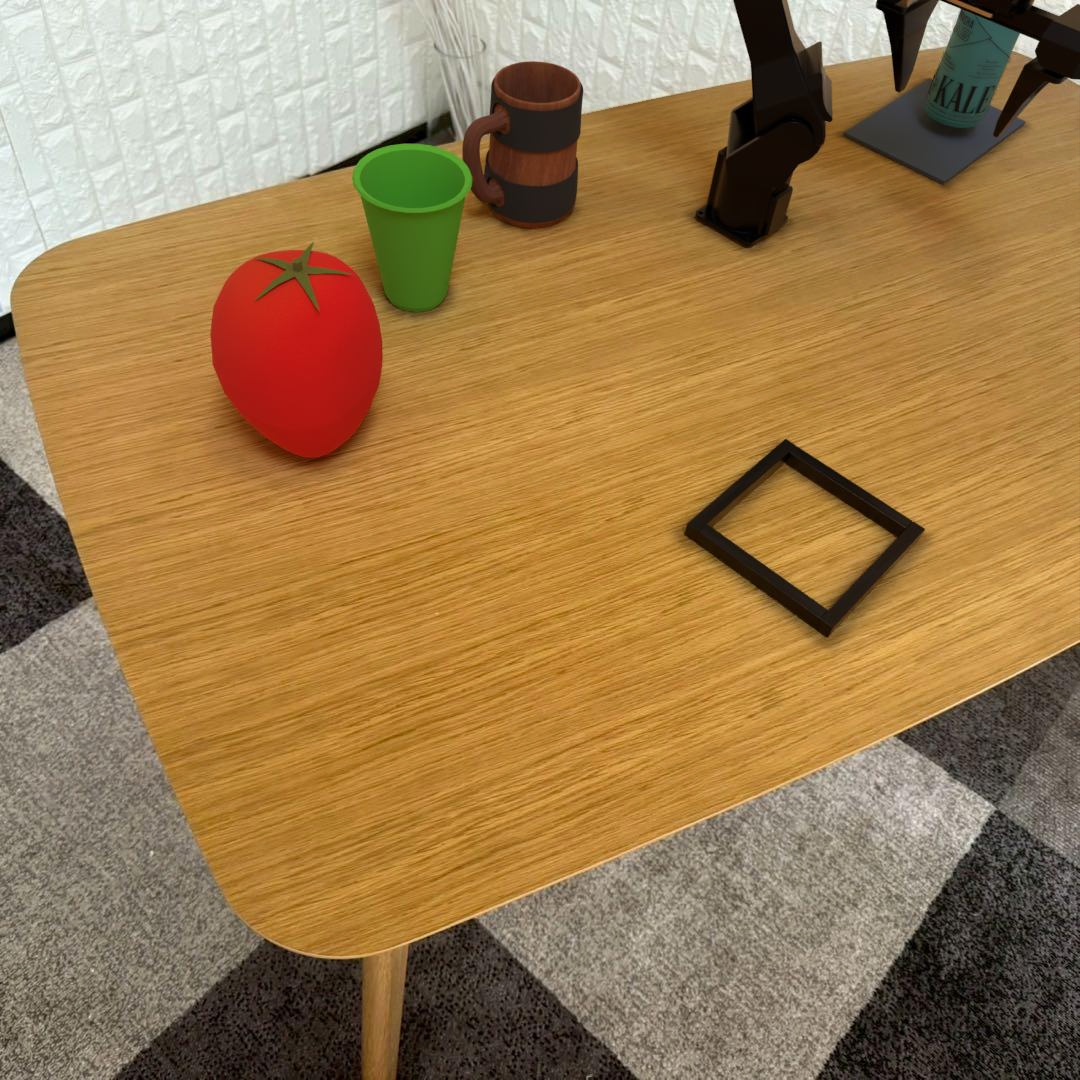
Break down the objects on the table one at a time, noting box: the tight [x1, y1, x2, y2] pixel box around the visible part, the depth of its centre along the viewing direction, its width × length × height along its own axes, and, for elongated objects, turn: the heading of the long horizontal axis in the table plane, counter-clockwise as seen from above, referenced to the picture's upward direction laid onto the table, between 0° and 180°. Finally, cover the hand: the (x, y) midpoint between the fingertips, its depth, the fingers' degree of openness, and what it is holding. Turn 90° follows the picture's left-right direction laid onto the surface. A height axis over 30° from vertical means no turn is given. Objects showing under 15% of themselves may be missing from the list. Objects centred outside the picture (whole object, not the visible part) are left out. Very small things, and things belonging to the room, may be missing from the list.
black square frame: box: [683, 438, 926, 638], centre depth 71 cm, size 12×12×1 cm
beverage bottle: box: [925, 0, 1036, 128], centre depth 101 cm, size 6×7×20 cm
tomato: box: [209, 241, 384, 458], centre depth 70 cm, size 13×11×14 cm
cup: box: [351, 143, 472, 313], centre depth 81 cm, size 9×9×11 cm
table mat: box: [842, 77, 1026, 185], centre depth 109 cm, size 12×18×1 cm, turn 137°
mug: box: [461, 60, 584, 229], centre depth 89 cm, size 9×12×12 cm
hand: (947, 112), depth 85 cm, fingers open, 9 cm apart
